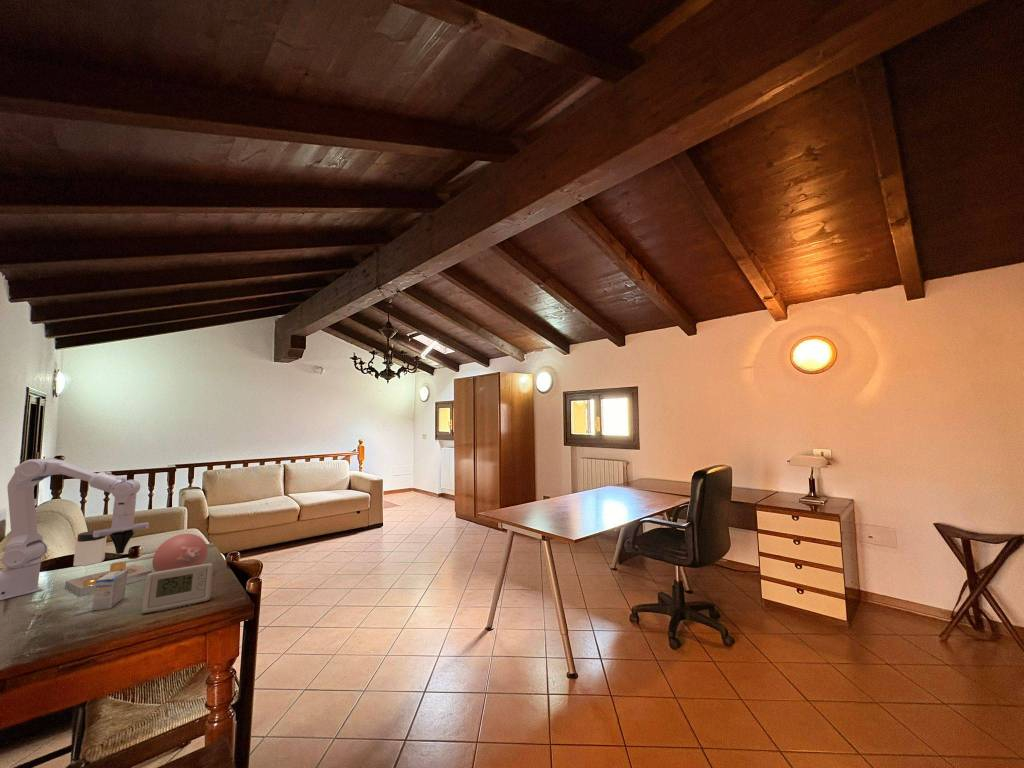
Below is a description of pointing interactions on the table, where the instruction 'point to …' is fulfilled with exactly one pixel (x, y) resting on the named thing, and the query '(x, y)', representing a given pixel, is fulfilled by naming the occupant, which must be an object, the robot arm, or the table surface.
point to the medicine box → (109, 590)
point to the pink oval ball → (180, 552)
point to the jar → (89, 549)
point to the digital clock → (177, 587)
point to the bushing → (118, 566)
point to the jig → (88, 582)
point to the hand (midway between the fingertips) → (119, 553)
